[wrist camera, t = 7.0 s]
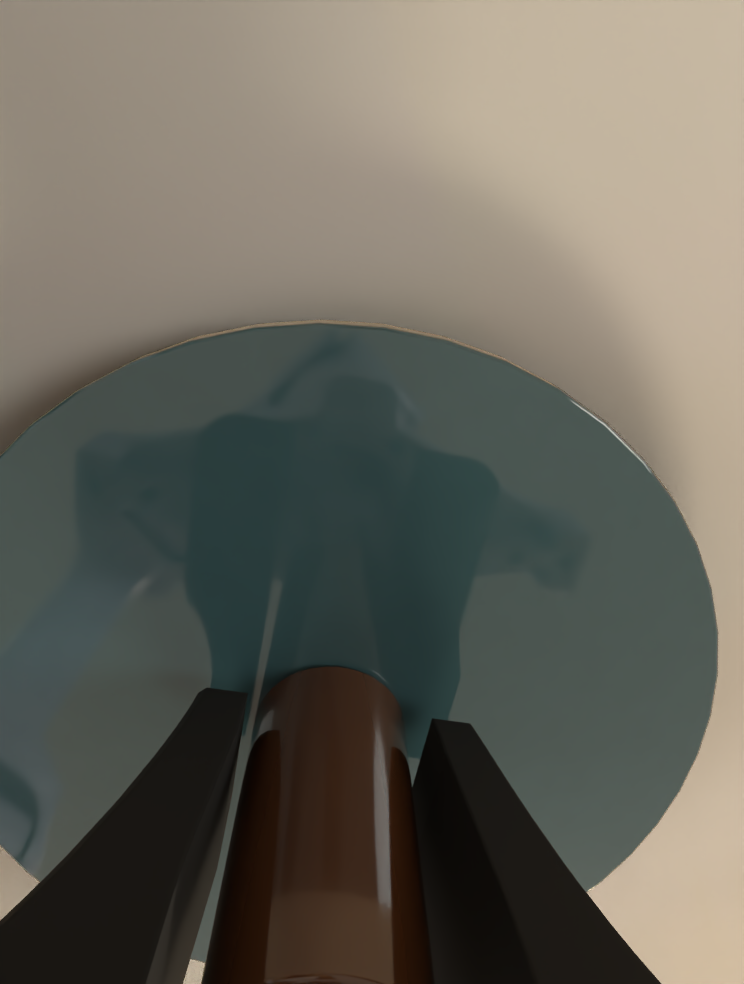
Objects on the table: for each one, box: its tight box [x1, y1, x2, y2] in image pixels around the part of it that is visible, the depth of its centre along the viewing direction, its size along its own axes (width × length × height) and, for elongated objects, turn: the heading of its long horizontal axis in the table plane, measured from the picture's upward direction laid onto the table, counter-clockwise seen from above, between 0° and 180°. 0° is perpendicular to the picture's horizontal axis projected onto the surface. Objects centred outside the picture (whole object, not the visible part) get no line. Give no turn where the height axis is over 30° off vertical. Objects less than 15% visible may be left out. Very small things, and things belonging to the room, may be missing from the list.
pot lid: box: [0, 320, 718, 984], centre depth 8 cm, size 13×13×6 cm
